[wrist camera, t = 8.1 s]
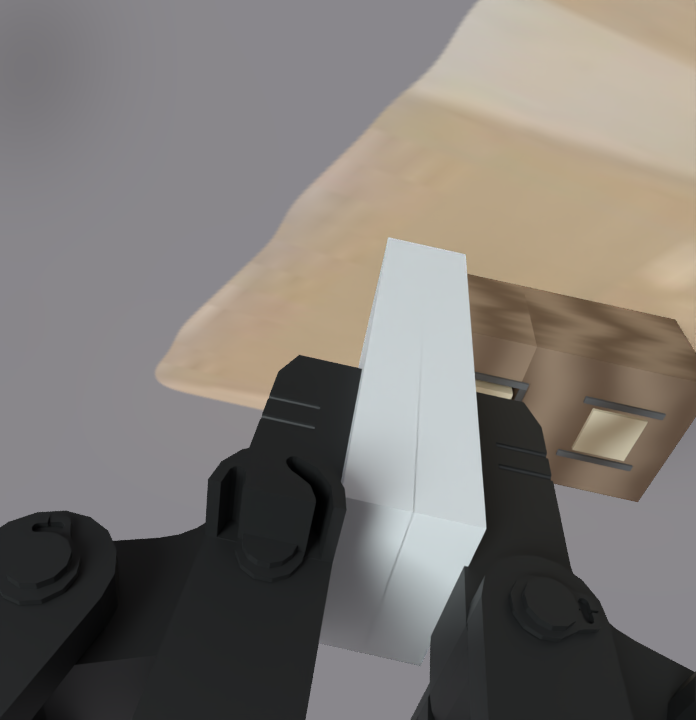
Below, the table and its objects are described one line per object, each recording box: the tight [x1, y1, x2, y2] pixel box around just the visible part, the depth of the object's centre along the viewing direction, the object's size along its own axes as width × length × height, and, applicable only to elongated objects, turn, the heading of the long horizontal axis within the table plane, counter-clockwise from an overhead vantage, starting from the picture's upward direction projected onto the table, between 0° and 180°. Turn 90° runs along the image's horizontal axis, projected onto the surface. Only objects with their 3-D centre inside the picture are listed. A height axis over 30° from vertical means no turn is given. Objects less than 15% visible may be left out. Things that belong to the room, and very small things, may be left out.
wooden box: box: [467, 274, 696, 502], centre depth 48 cm, size 20×12×9 cm, turn 80°
